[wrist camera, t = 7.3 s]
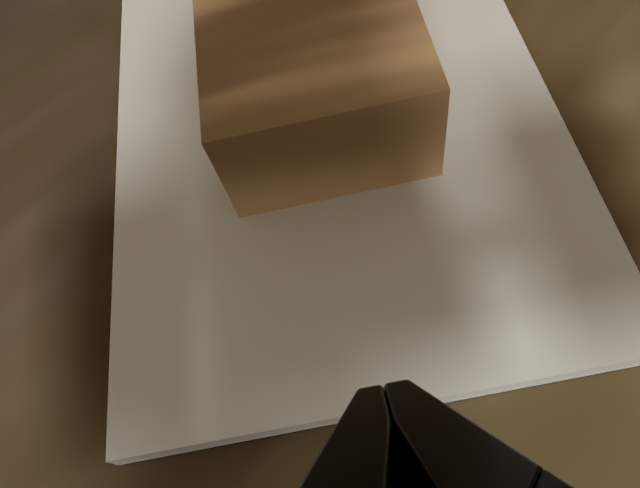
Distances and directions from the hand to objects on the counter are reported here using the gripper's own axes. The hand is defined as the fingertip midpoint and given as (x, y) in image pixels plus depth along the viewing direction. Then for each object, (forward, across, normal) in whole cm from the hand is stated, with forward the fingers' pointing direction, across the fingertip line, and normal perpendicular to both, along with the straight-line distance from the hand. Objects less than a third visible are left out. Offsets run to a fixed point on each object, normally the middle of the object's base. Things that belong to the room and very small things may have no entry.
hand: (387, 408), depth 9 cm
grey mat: (+14, 0, -4) cm, 14 cm away
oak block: (+9, 0, -3) cm, 9 cm away
